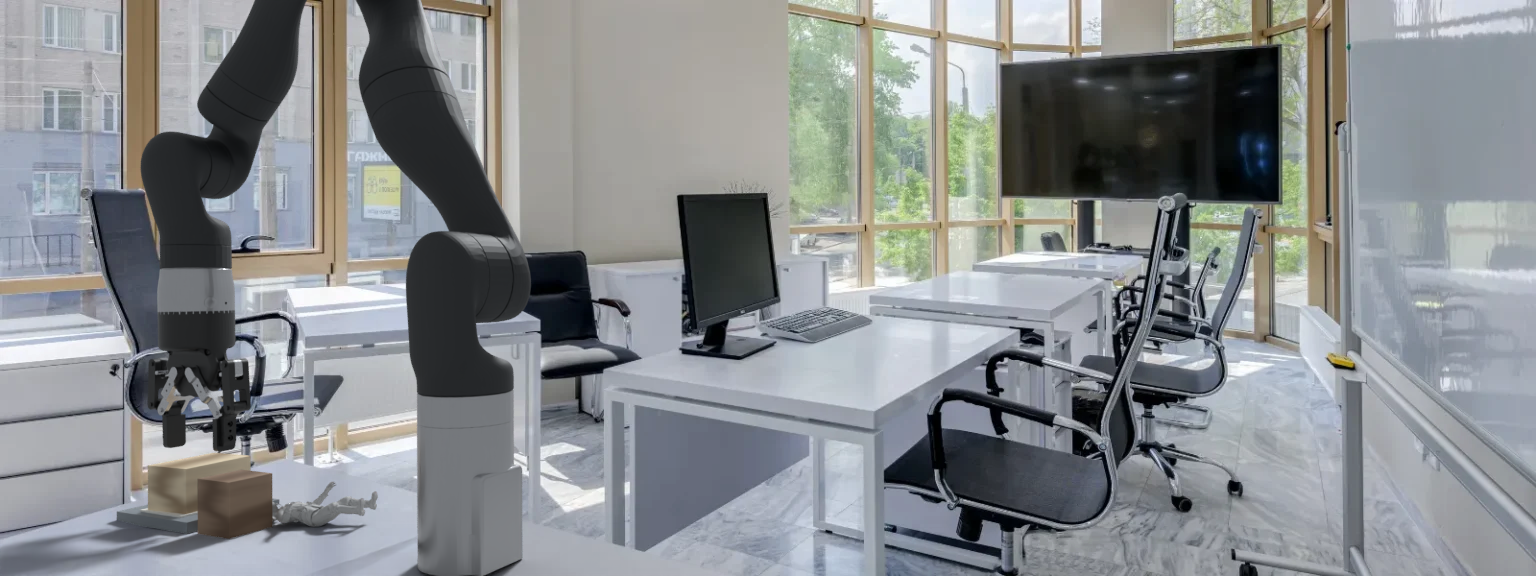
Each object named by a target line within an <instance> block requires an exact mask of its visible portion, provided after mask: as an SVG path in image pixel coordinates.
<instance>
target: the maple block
mask: <svg viewBox="0 0 1536 576" xmlns="http://www.w3.org/2000/svg"><path fill="white" fill-rule="evenodd" d="M251 460H252V457H251V455H246V454H234V453H233V454H232V453H224V452H222V453H221V452H211V453H206V454H201V455H195V456H189V457H185V458H179V459H175V460H170V461H164V462H159V463H154V464H153V463H152V464H149V465H147V505H148V510H154V511H163V512H171V513H179V514H189V513H193V512H197V511H198V491H197V479H198V478H203V477H208V476H213V475H218V474H223V473H227V472H232V471H237V470H249V471H252V469H251V465H252V464H251V462H252V461H251Z"/></svg>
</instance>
